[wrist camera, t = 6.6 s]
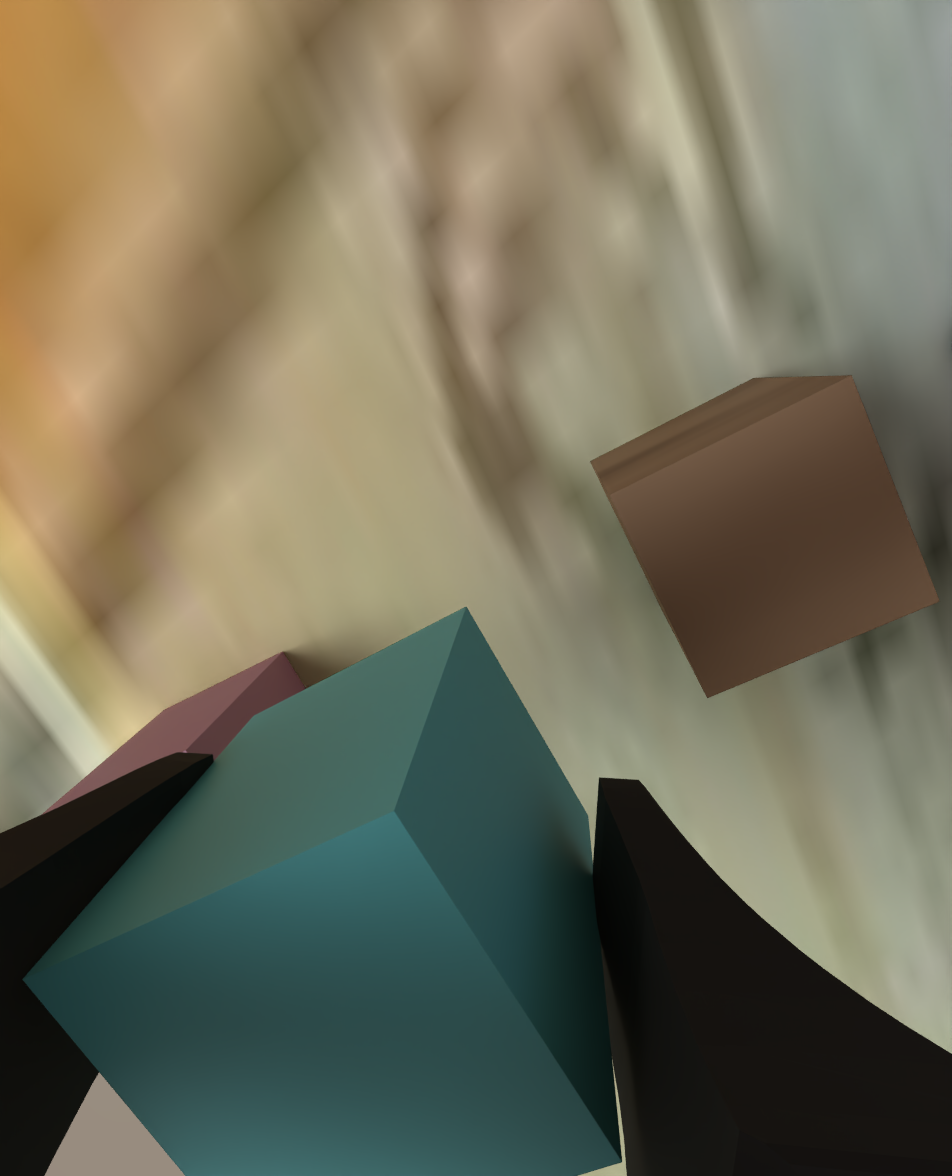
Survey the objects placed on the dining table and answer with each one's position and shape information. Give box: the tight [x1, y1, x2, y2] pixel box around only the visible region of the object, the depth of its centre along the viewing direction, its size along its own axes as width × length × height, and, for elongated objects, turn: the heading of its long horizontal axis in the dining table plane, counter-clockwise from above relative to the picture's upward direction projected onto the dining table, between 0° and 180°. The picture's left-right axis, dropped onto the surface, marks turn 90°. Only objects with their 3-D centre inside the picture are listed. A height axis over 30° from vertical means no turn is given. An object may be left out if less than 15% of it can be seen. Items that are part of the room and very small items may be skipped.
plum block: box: [43, 652, 306, 814], centre depth 19 cm, size 4×4×6 cm
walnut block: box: [590, 375, 939, 698], centre depth 16 cm, size 4×4×6 cm
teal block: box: [22, 607, 622, 1176], centre depth 10 cm, size 4×4×6 cm
